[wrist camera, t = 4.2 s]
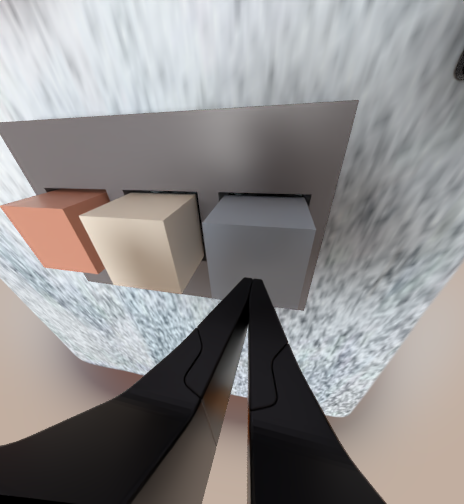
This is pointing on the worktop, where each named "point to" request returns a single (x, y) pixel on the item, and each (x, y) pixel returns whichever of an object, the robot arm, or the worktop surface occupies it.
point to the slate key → (259, 245)
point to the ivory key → (148, 240)
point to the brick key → (59, 227)
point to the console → (194, 159)
